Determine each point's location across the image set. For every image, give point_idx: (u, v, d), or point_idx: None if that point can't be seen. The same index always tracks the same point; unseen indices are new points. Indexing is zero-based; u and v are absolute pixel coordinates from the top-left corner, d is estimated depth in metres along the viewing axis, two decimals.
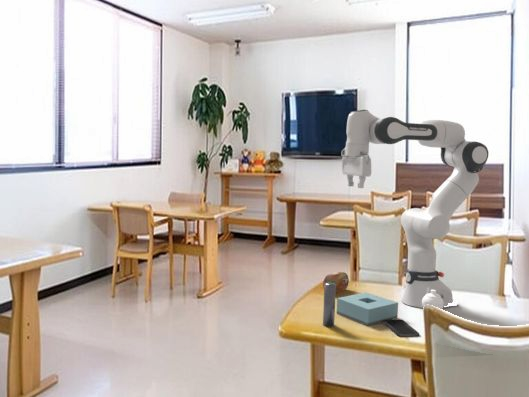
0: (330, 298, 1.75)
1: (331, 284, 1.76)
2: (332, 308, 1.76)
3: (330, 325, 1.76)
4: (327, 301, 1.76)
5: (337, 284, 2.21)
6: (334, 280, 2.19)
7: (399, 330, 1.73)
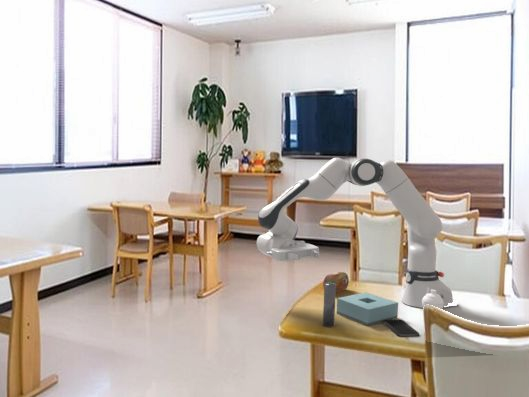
0: (330, 298, 1.75)
1: (331, 284, 1.76)
2: (332, 308, 1.76)
3: (330, 325, 1.76)
4: (327, 301, 1.76)
5: (337, 284, 2.21)
6: (334, 280, 2.19)
7: (399, 330, 1.73)
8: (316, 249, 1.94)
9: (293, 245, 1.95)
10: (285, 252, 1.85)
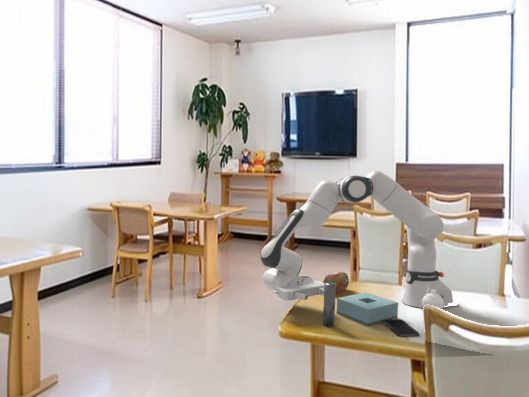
0: (330, 298, 1.75)
1: (331, 284, 1.76)
2: (332, 308, 1.76)
3: (330, 325, 1.76)
4: (327, 301, 1.76)
5: (337, 284, 2.21)
6: (334, 280, 2.19)
7: (399, 330, 1.73)
8: (323, 286, 1.92)
9: (300, 282, 1.92)
10: (292, 291, 1.83)
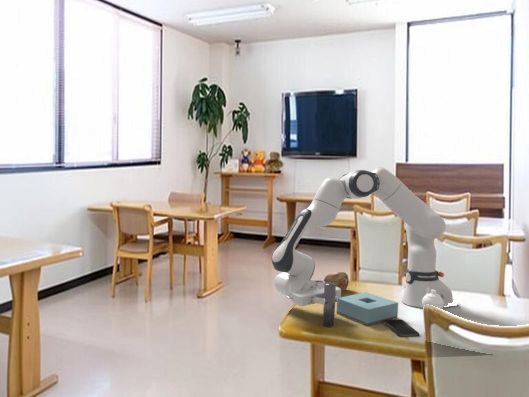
0: (330, 298, 1.75)
1: (331, 284, 1.76)
2: (332, 308, 1.76)
3: (330, 325, 1.76)
4: (327, 301, 1.76)
5: (337, 284, 2.21)
6: (334, 280, 2.19)
7: (399, 330, 1.73)
8: (338, 291, 1.85)
9: (314, 287, 1.86)
10: (307, 296, 1.76)
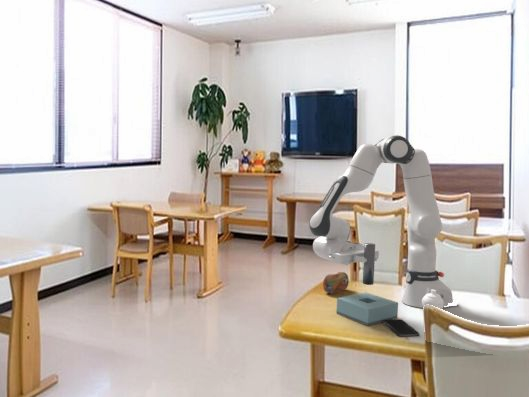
0: (370, 257, 1.85)
1: (371, 244, 1.86)
2: (372, 267, 1.86)
3: (370, 283, 1.86)
4: (367, 260, 1.86)
5: (337, 284, 2.21)
6: (334, 280, 2.19)
7: (399, 330, 1.73)
8: (376, 252, 1.95)
9: (353, 248, 1.96)
10: (348, 255, 1.86)
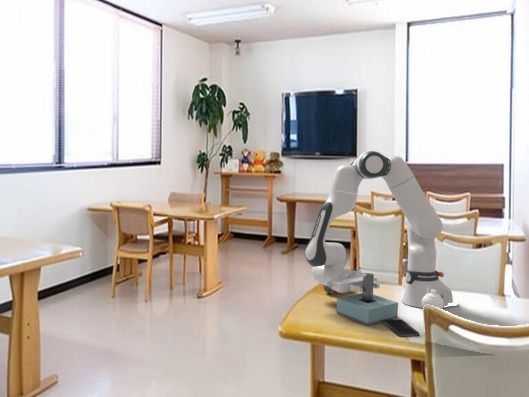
0: (369, 288, 1.86)
1: (369, 274, 1.87)
2: (370, 297, 1.87)
3: None
4: (365, 290, 1.87)
5: None
6: None
7: (399, 330, 1.73)
8: (375, 279, 1.96)
9: (352, 275, 1.97)
10: (347, 284, 1.87)
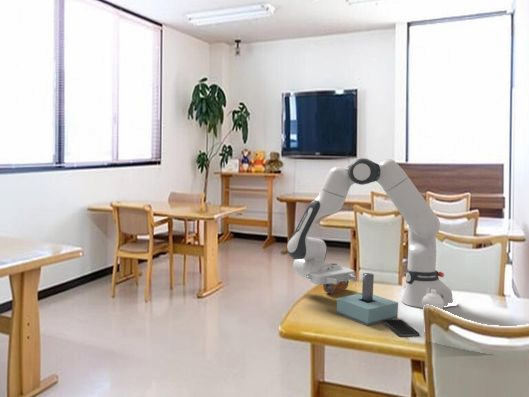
0: (369, 288, 1.86)
1: (369, 274, 1.87)
2: (370, 297, 1.87)
3: None
4: (365, 290, 1.87)
5: (337, 284, 2.21)
6: None
7: (399, 330, 1.73)
8: (352, 272, 2.06)
9: (330, 269, 2.07)
10: (324, 276, 1.97)
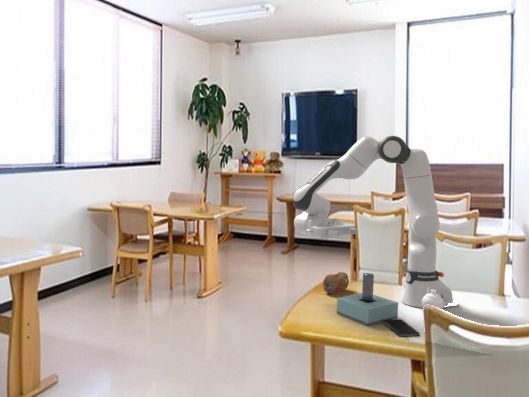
0: (369, 288, 1.86)
1: (369, 274, 1.87)
2: (370, 297, 1.87)
3: None
4: (365, 290, 1.87)
5: (337, 284, 2.21)
6: (334, 280, 2.19)
7: (399, 330, 1.73)
8: (353, 227, 2.05)
9: (331, 223, 2.05)
10: (325, 229, 1.96)
